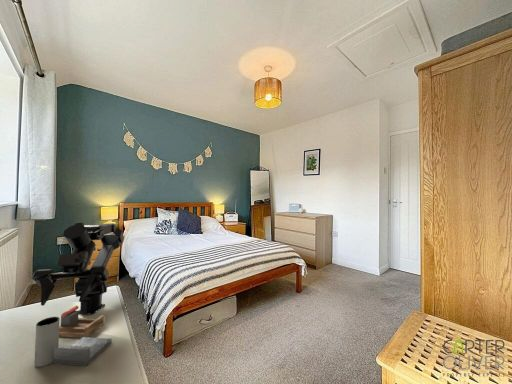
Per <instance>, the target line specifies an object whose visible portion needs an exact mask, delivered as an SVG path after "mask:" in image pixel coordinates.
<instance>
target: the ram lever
mask: <svg viewBox="0 0 512 384" xmlns="http://www.w3.org/2000/svg"><path fill="white" fill-rule="evenodd" d="M79 308H80V307H79V306H78V305H75V306H74V307H71V308H69V309H67V310H66V311H64V312H63V313H61V315H60V326H64V327H73V326H74V325H76V324H77V323H78V318H79V314H80V313H79V310H78V309H79Z"/></svg>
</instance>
